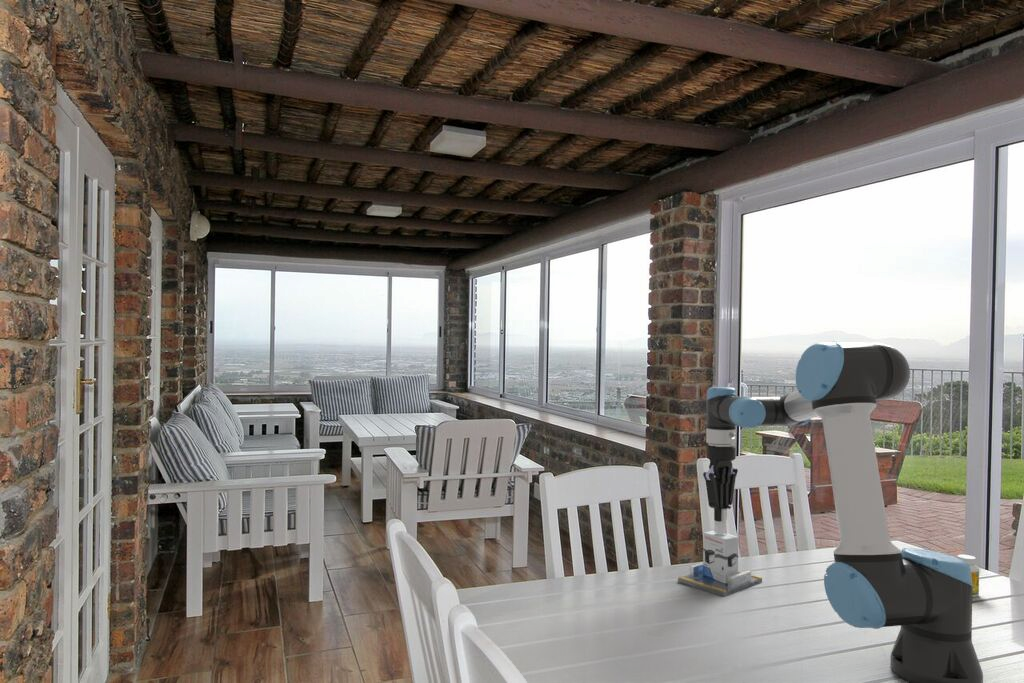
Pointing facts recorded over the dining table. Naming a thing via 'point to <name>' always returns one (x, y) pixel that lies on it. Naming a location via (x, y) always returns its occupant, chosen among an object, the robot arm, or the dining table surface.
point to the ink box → (720, 556)
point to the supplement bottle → (972, 572)
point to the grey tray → (716, 587)
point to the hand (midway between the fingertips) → (720, 532)
